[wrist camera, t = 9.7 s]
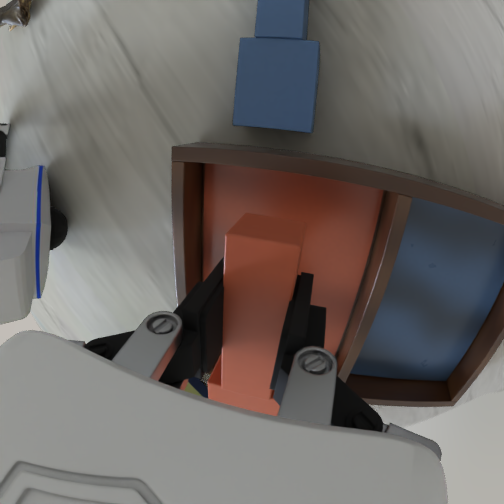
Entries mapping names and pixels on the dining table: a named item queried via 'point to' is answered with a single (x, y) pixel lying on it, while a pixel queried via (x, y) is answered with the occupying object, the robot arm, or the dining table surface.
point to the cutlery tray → (361, 261)
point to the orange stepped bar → (255, 308)
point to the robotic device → (25, 235)
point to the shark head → (15, 13)
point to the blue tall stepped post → (278, 70)
